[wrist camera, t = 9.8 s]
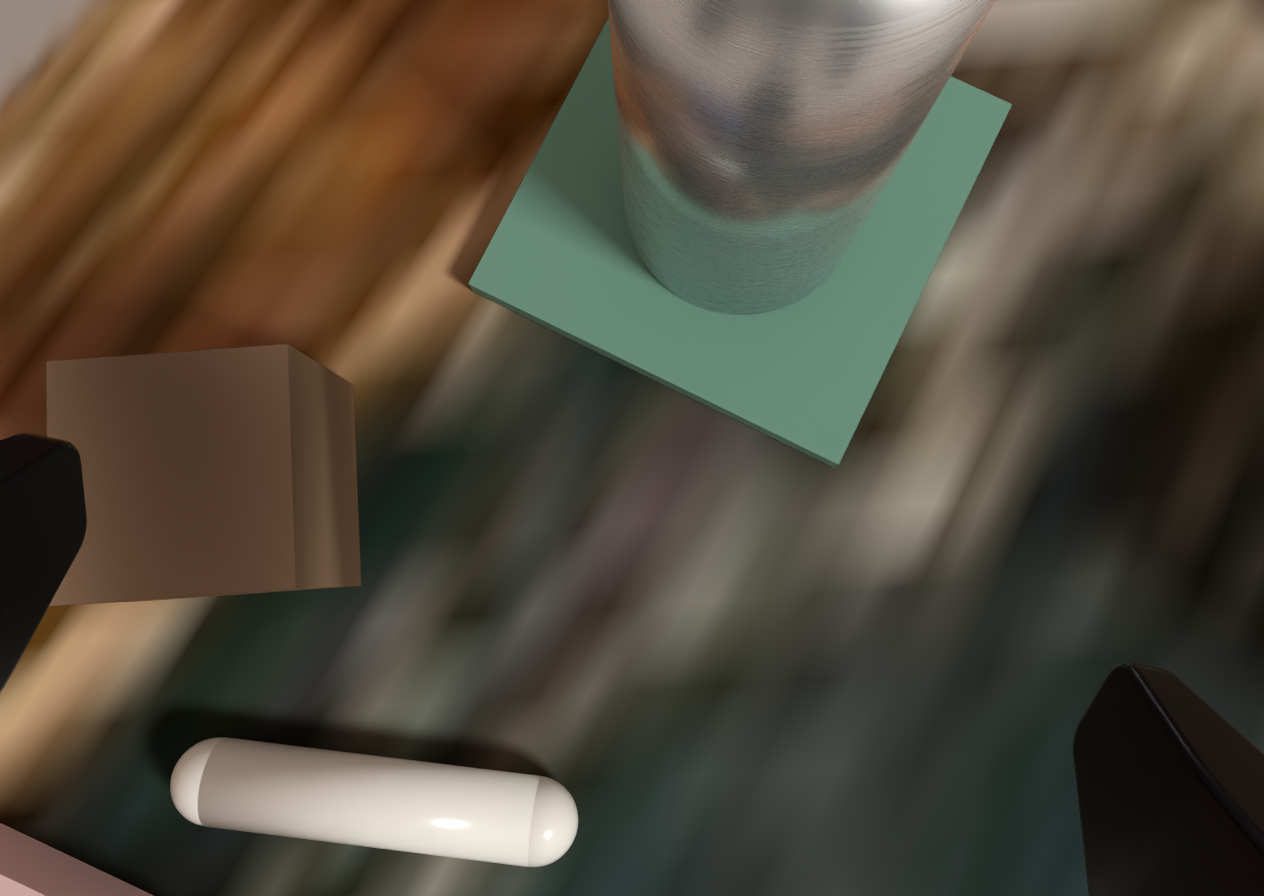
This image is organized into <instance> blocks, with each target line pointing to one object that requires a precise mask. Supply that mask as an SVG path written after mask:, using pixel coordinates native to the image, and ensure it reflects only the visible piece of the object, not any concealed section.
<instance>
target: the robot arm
mask: <svg viewBox="0 0 1264 896" xmlns="http://www.w3.org/2000/svg"><path fill="white" fill-rule="evenodd" d="M86 527H87V514H86V504H85V495H84V485H83V475H82V465H81V458H80V454H79V452H78V450H77V448H76V447H75V446H74V445H73V444H72V443H70V442H69V441H66V440H61V439H56V438H51V437H46V436H42V435H37V434H31V433H21V434H18V435H14V436H11V437H9V438H6V439H3V440H0V693H1V691H2V689H3V688H4V686H5V684H6V683H7V681H8V679H9V677H10V676H11V674H12V672H13V671H14V669H15V667H16V665H17V663H18V661H19V660H20V658H21V656H22V654H23V652H24V650H25V649H26V647H27V645H28V643H29V641H30V640H31V638H32V636H33V634H34V632H35V630H36V629H37V627H38V625H39V623H40V621H41V619H42V618H43V616H44V614H45V612H46V610H47V608H48V607H49V605H50V603H51V601H52V599H53V598H54V596H55V594H56V592H57V590H58V588H59V587H60V585H61V583H62V581H63V579H64V577H65V576H66V574H67V572H68V570H69V568H70V566H71V565H72V563H73V561H74V559H75V557H76V556H77V554H78V552H79V550H80V548H81V546H82V543H83V540H84V537H85V533H86ZM1073 756H1074V765H1075V774H1076V783H1077V792H1078V801H1079V810H1080V819H1081V828H1082V837H1083V846H1084V855H1085V864H1086V873H1087V883H1088V891H1089V896H1264V754H1263V753H1262V752H1261V751H1259V750H1258V749H1257V748H1256V747H1255V746H1254V745H1253V744H1252V743H1251V742H1249V741H1248V740H1247V739H1246V738H1245V737H1244V736H1243V735H1242V734H1240V733H1239V732H1238V731H1237V730H1236V729H1235V728H1234V727H1233V726H1232V725H1230V724H1229V723H1228V722H1227V721H1226V720H1225V719H1224V718H1223V717H1221V716H1220V715H1219V714H1218V713H1217V712H1216V711H1215V710H1214V709H1212V708H1211V707H1210V706H1209V705H1208V704H1207V703H1206V702H1205V701H1204V700H1202V699H1201V698H1200V697H1199V696H1198V695H1197V694H1196V693H1195V692H1193V691H1192V690H1191V689H1190V688H1189V687H1188V686H1187V685H1186V684H1185V683H1183V682H1182V681H1181V680H1180V679H1179V678H1178V677H1177V676H1176V675H1174V674H1173V673H1172V672H1170V671H1168V670H1165V669H1162V668H1157V667H1152V666H1148V665H1143V664H1138V663H1133V662H1122V663H1119V664H1117V665H1116V666H1115V667H1114V668H1112V670H1111V671H1110V672H1109V674H1108V675H1107V677H1106V679H1105V680H1104V682H1103V684H1102V685H1101V687H1100V689H1099V690H1098V692H1097V694H1096V695H1095V697H1094V699H1093V700H1092V702H1091V704H1090V705H1089V707H1088V709H1087V710H1086V712H1085V714H1084V715H1083V717H1082V719H1081V720H1080V722H1079V724H1078V726H1077V729H1076V732H1075V736H1074V743H1073Z"/></svg>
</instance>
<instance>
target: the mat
mask: <svg viewBox="0 0 1264 896" xmlns="http://www.w3.org/2000/svg"><path fill="white" fill-rule="evenodd" d="M1011 106H1012V104H1010V103H1008V102H1006V101H1004V100H1002V99H999V98H997V97H995V96H993V95H991V94H988V93H986V92H984V91H982V90H980V89H977V88H975V87H973V86H971V85H969V84H967V83H964V82H962V81H960V80H958V79H956V78H953V77H951V76H950V78H949V80H948V81H947V83H946V85H945V86H944V88H943V90H942V91H941V93H940V95H939V97H938V98H937V100H936V102H935V103H934V105H933V107H932V108H931V110H930V112H929V113H928V115H927V117H926V119H925V120H924V122H923V124H922V125H921V127H920V129H919V130H918V132H917V134H916V136H915V137H914V139H913V141H912V142H911V144H910V146H909V147H908V149H907V151H906V152H905V154H904V156H903V158H902V159H901V161H900V163H899V164H898V166H897V168H896V169H895V171H894V173H893V175H892V176H891V178H890V180H889V181H888V183H887V185H886V186H885V188H884V190H883V191H882V193H881V195H880V197H879V198H878V200H877V202H876V203H875V205H874V207H873V208H872V210H871V212H870V214H869V215H868V217H867V219H866V220H865V222H864V224H863V225H862V227H861V229H860V230H859V232H858V234H857V236H856V237H855V239H854V241H853V242H852V244H851V246H850V247H849V249H848V251H847V253H846V254H845V256H844V258H843V259H842V261H841V262H840V264H839V265H838V266H837V268H836V269H835V271H834V272H833V273H832V274H831V275H830V276H829V277H828V279H827V280H826V281H825V282H824V283H823V284H821V285H820V286H819V287H818V288H817V289H816V290H814V291H813V292H812V293H810V294H809V295H807V296H806V297H804V298H802V299H801V300H799V301H797V302H795V303H793V304H791V305H789V306H786V307H783V308H780V309H777V310H774V311H771V312H765V313H760V314H751V315H733V314H723V313H718V312H713V311H709V310H706V309H703V308H700V307H697V306H695V305H693V304H690V303H688V302H686V301H684V300H682V299H681V298H679V297H678V296H676V295H675V294H673V293H672V292H670V291H669V290H667V289H666V288H665V287H664V286H663V285H662V284H661V283H659V282H658V281H657V280H656V279H655V278H654V276H653V275H652V274H651V273H650V272H649V271H648V270H647V268H646V267H645V265H644V264H643V262H642V261H641V259H640V258H639V256H638V254H637V252H636V250H635V248H634V246H633V244H632V241H631V238H630V235H629V232H628V229H627V224H626V219H625V212H624V199H623V187H622V174H621V162H620V149H619V137H618V125H617V112H616V100H615V87H614V75H613V62H612V50H611V37H610V25H609V18H608V20H607V21H606V23H605V25H604V27H603V29H602V31H601V33H600V35H599V37H598V39H597V40H596V42H595V44H594V46H593V48H592V50H591V52H590V54H589V56H588V57H587V59H586V61H585V63H584V65H583V67H582V69H581V71H580V73H579V75H578V76H577V78H576V80H575V82H574V84H573V86H572V88H571V90H570V92H569V94H568V95H567V97H566V99H565V101H564V103H563V105H562V107H561V109H560V111H559V113H558V114H557V116H556V118H555V120H554V122H553V124H552V126H551V128H550V130H549V131H548V133H547V135H546V137H545V139H544V141H543V143H542V145H541V147H540V149H539V150H538V152H537V154H536V156H535V158H534V160H533V162H532V164H531V166H530V168H529V169H528V171H527V173H526V175H525V177H524V179H523V181H522V183H521V185H520V187H519V188H518V190H517V192H516V194H515V196H514V198H513V200H512V202H511V204H510V206H509V207H508V209H507V211H506V213H505V215H504V217H503V219H502V221H501V223H500V224H499V226H498V228H497V230H496V232H495V234H494V236H493V238H492V240H491V242H490V243H489V245H488V247H487V249H486V251H485V253H484V255H483V257H482V259H481V261H480V262H479V264H478V266H477V268H476V270H475V272H474V274H473V276H472V278H471V280H470V281H469V283H468V284H469V286H470V287H471V289H472V291H473V292H475V293H477V294H479V295H481V296H483V297H485V298H487V299H489V300H491V301H493V302H495V303H497V304H499V305H501V306H503V307H505V308H508V309H510V310H512V311H514V312H516V313H518V314H520V315H522V316H524V317H526V318H528V319H530V320H532V321H534V322H536V323H538V324H540V325H542V326H544V327H546V328H548V329H551V330H553V331H555V332H557V333H559V334H561V335H563V336H565V337H567V338H569V339H571V340H573V341H575V342H577V343H579V344H581V345H583V346H585V347H587V348H589V349H591V350H593V351H596V352H598V353H600V354H602V355H604V356H606V357H608V358H610V359H612V360H614V361H616V362H618V363H620V364H622V365H624V366H626V367H628V368H630V369H632V370H634V371H636V372H639V373H641V374H643V375H645V376H647V377H649V378H651V379H653V380H655V381H657V382H659V383H661V384H663V385H665V386H667V387H669V388H671V389H673V390H675V391H677V392H679V393H682V394H684V395H686V396H688V397H690V398H692V399H694V400H696V401H698V402H700V403H702V404H704V405H706V406H708V407H710V408H712V409H714V410H716V411H718V412H720V413H722V414H724V415H727V416H729V417H731V418H733V419H735V420H737V421H739V422H741V423H743V424H745V425H747V426H749V427H751V428H753V429H755V430H757V431H759V432H761V433H763V434H765V435H767V436H770V437H772V438H774V439H776V440H778V441H780V442H782V443H784V444H786V445H788V446H790V447H792V448H794V449H796V450H798V451H800V452H802V453H804V454H806V455H808V456H810V457H812V458H815V459H817V460H819V461H821V462H823V463H825V464H827V465H829V466H831V467H833V468H834V467H836V466H837V465H839V463H840V461H841V459H842V457H843V455H844V452H845V450H846V448H847V446H848V444H849V442H850V440H851V438H852V436H853V434H854V432H855V430H856V428H857V425H858V423H859V421H860V419H861V417H862V415H863V413H864V411H865V409H866V407H867V405H868V403H869V401H870V398H871V396H872V394H873V392H874V390H875V388H876V386H877V384H878V382H879V380H880V378H881V376H882V374H883V371H884V369H885V367H886V365H887V363H888V361H889V359H890V357H891V355H892V353H893V351H894V349H895V347H896V344H897V342H898V340H899V338H900V336H901V334H902V332H903V330H904V328H905V326H906V324H907V322H908V320H909V317H910V315H911V313H912V311H913V309H914V307H915V305H916V303H917V301H918V299H919V297H920V295H921V293H922V290H923V288H924V286H925V284H926V282H927V280H928V278H929V276H930V274H931V272H932V270H933V268H934V266H935V263H936V261H937V259H938V257H939V255H940V253H941V251H942V249H943V247H944V245H945V243H946V241H947V239H948V236H949V234H950V232H951V230H952V228H953V226H954V224H955V222H956V220H957V218H958V216H959V214H960V212H961V209H962V207H963V205H964V203H965V201H966V199H967V197H968V195H969V193H970V191H971V189H972V187H973V185H974V182H975V180H976V178H977V176H978V174H979V172H980V170H981V168H982V166H983V164H984V162H985V160H986V158H987V155H988V153H989V151H990V149H991V147H992V145H993V143H994V141H995V139H996V137H997V135H998V133H999V131H1000V128H1001V126H1002V124H1003V122H1004V120H1005V118H1006V116H1007V114H1008V112H1009V110H1010V108H1011Z"/></svg>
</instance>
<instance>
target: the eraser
mask: <svg viewBox="0 0 1264 896" xmlns="http://www.w3.org/2000/svg"><path fill="white" fill-rule="evenodd" d="M0 896H153V895H151V894H149V893H147V892H145V891H143V890H141V889H139V888H137V887H134V886H132V885H130V884H128V883H126V882H124V881H122V880H120V879H118V878H115V877H113V876H111V875H109V874H107V873H105V872H103V871H101V870H99V869H96V868H94V867H92V866H90V865H88V864H86V863H84V862H82V861H80V860H77V859H75V858H73V857H71V856H69V855H67V854H65V853H63V852H61V851H58V850H56V849H54V848H52V847H50V846H48V845H46V844H44V843H42V842H39V841H37V840H35V839H33V838H31V837H29V836H27V835H25V834H23V833H21V832H18V831H16V830H14V829H12V828H10V827H8V826H6V825H4V824H2V823H0Z"/></svg>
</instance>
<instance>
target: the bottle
mask: <svg viewBox="0 0 1264 896" xmlns="http://www.w3.org/2000/svg"><path fill="white" fill-rule="evenodd" d="M994 2H995V0H608V12H609V25H610V37H611V50H612V62H613V75H614V87H615V100H616V112H617V125H618V137H619V149H620V162H621V174H622V187H623V199H624V212H625V219H626V224H627V229H628V232H629V235H630V238H631V241H632V244H633V246H634V248H635V250H636V252H637V254H638V256H639V258H640V259H641V261H642V262H643V264H644V265H645V267H646V268H647V270H648V271H649V272H650V273H651V274H652V275H653V276H654V278H655V279H656V280H657V281H658V282H659V283H661V284H662V285H663V286H664V287H665V288H666V289H667V290H669V291H670V292H672V293H673V294H675V295H676V296H678V297H679V298H681V299H682V300H684V301H686V302H688V303H690V304H693V305H695V306H697V307H700V308H703V309H706V310H709V311H713V312H718V313H723V314H733V315H751V314H760V313H765V312H771V311H774V310H777V309H780V308H783V307H786V306H789V305H791V304H793V303H795V302H797V301H799V300H801V299H802V298H804V297H806V296H807V295H809V294H810V293H812V292H813V291H814V290H816V289H817V288H818V287H819V286H820V285H821V284H823V283H824V282H825V281H826V280H827V279H828V277H829V276H830V275H831V274H832V273H833V272H834V271H835V269H836V268H837V266H838V265H839V264H840V262H841V261H842V259H843V258H844V256H845V254H846V253H847V251H848V249H849V247H850V246H851V244H852V242H853V241H854V239H855V237H856V236H857V234H858V232H859V230H860V229H861V227H862V225H863V224H864V222H865V220H866V219H867V217H868V215H869V214H870V212H871V210H872V208H873V207H874V205H875V203H876V202H877V200H878V198H879V197H880V195H881V193H882V191H883V190H884V188H885V186H886V185H887V183H888V181H889V180H890V178H891V176H892V175H893V173H894V171H895V169H896V168H897V166H898V164H899V163H900V161H901V159H902V158H903V156H904V154H905V152H906V151H907V149H908V147H909V146H910V144H911V142H912V141H913V139H914V137H915V136H916V134H917V132H918V130H919V129H920V127H921V125H922V124H923V122H924V120H925V119H926V117H927V115H928V113H929V112H930V110H931V108H932V107H933V105H934V103H935V102H936V100H937V98H938V97H939V95H940V93H941V91H942V90H943V88H944V86H945V85H946V83H947V81H948V80H949V78H950V76H951V74H952V73H953V71H954V69H955V68H956V66H957V64H958V63H959V61H960V59H961V58H962V56H963V54H964V52H965V51H966V49H967V47H968V46H969V44H970V42H971V41H972V39H973V37H974V35H975V34H976V32H977V30H978V29H979V27H980V25H981V24H982V22H983V20H984V19H985V17H986V15H987V13H988V12H989V10H990V8H991V7H992V5H993V3H994Z"/></svg>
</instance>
